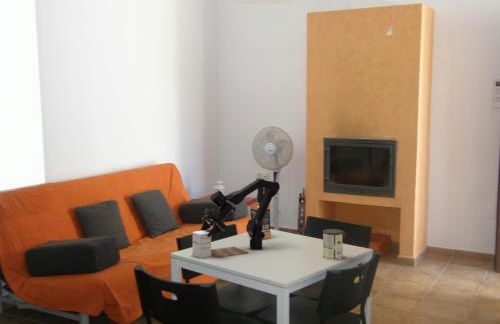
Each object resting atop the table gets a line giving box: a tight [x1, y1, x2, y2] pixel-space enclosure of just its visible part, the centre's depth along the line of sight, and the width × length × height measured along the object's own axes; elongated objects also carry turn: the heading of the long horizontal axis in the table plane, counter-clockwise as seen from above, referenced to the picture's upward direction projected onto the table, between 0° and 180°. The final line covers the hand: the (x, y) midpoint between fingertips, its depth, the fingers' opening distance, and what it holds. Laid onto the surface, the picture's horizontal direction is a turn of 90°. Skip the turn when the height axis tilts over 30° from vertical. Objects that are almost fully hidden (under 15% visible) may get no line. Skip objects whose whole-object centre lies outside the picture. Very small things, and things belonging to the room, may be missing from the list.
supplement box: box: [192, 230, 212, 259], centre depth 282 cm, size 7×7×13 cm
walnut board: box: [211, 245, 249, 259], centre depth 290 cm, size 19×15×1 cm
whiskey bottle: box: [248, 186, 272, 241], centre depth 326 cm, size 10×10×32 cm
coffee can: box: [322, 228, 344, 261], centre depth 280 cm, size 10×10×14 cm
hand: (203, 234), depth 282 cm, fingers open, 9 cm apart
